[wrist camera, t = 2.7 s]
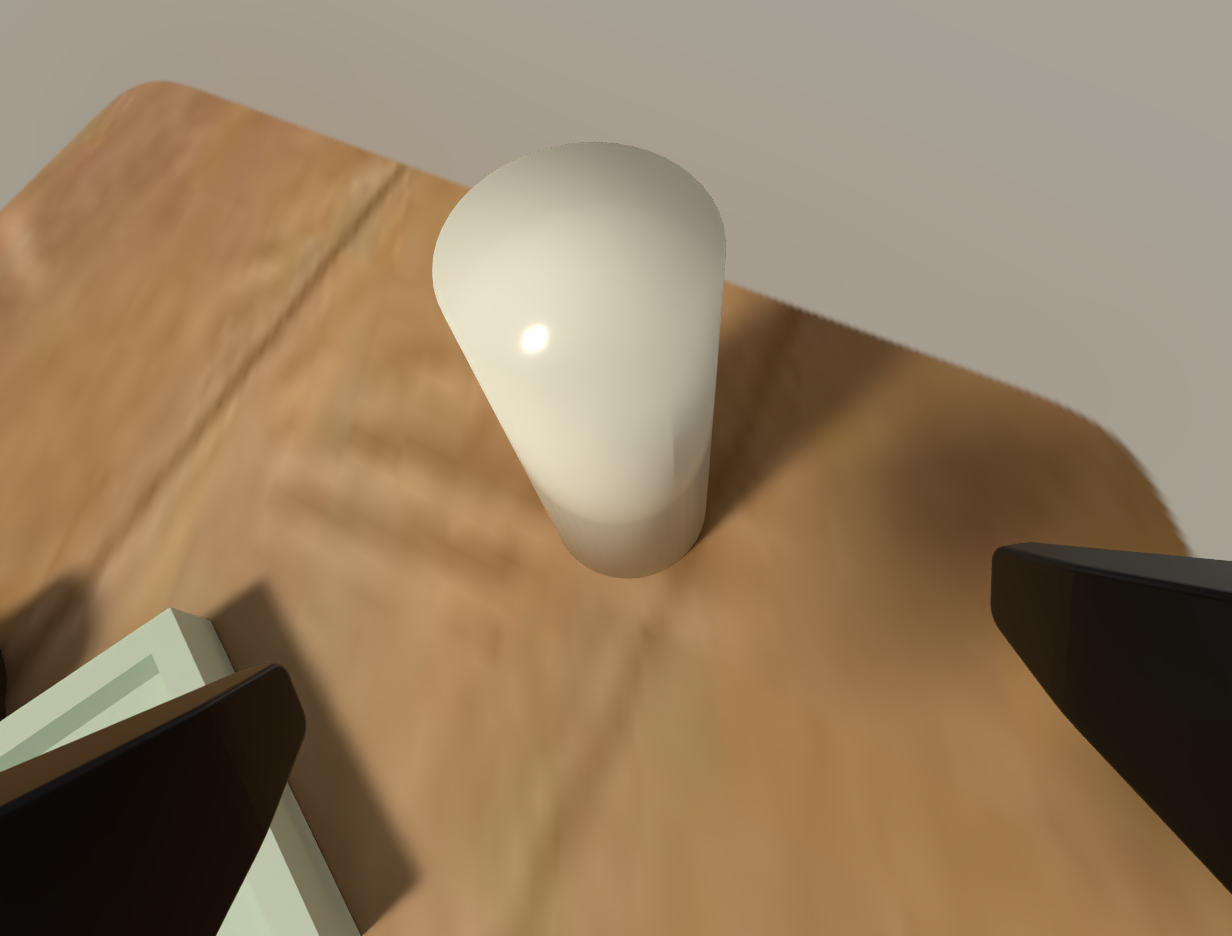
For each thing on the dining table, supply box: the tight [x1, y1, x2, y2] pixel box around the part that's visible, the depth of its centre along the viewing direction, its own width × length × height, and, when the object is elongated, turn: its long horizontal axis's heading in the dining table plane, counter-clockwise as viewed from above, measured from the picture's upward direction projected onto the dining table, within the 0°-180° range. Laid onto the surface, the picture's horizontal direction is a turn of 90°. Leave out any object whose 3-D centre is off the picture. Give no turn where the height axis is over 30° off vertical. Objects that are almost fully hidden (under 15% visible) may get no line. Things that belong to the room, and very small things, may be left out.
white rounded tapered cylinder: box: [432, 142, 726, 578], centre depth 18 cm, size 5×5×12 cm
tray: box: [0, 607, 361, 936], centre depth 19 cm, size 11×11×2 cm
